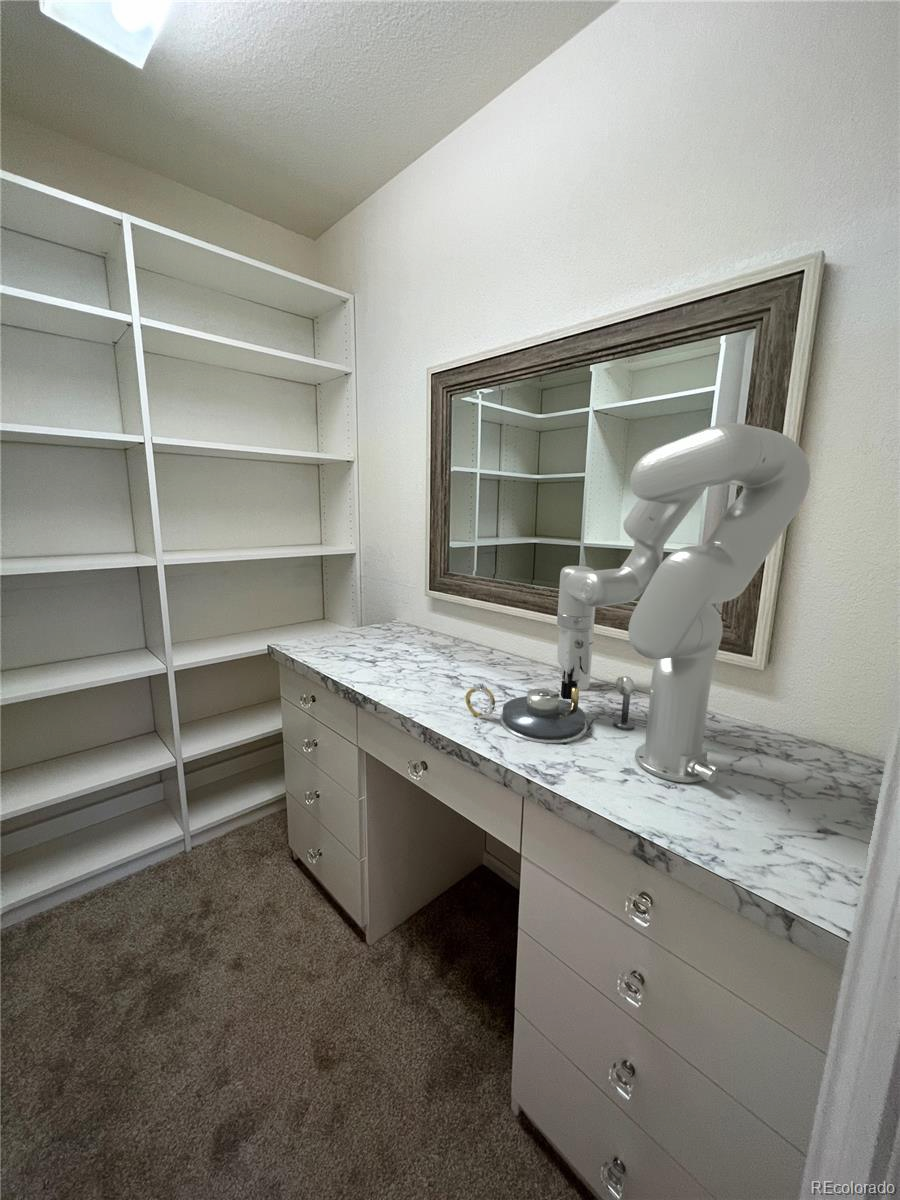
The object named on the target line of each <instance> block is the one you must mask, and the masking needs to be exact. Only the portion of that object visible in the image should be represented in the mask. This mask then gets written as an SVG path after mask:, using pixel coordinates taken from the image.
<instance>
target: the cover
mask: <svg viewBox="0 0 900 1200" xmlns="http://www.w3.org/2000/svg"><path fill="white" fill-rule="evenodd" d="M526 693H527V695H526V696H527V712H528V713H529V714H530V715H532V716H535V717H539V718H553V717H556V716H557V715H558V714H559V699H561V698H560V696H561V694H559V692H557V691H555V690H552V689H548V688H533V689H532V688H531V689H530V690H528V691H527V692H526Z"/></svg>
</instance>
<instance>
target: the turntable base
mask: <svg viewBox="0 0 900 1200" xmlns="http://www.w3.org/2000/svg"><path fill="white" fill-rule="evenodd" d="M502 715H503V712H502V713H501V715H500V716H499V717H500V718H499V723H500V725H501V727H502V728H503V730H505V731H506V732H508V733H509V734H511V735H513V736H514V737H517V738H519V739H522V740H525V741H529V742H533V743H540V744H548V745H549V744H567V743H571V742H575V741H577V740H579V739H581V738H583V737H585V735H586V733H587V732H588V731H587V730H588V725H587V723H586V721H585V728H584V730H583V731H582V732H581V733H579V734H578V735H576V736H573V737H569V738H564V739H541V738H535V737H530V736H526V735H523V734H520V733H518V732H516V731H514V730H512V729H510V728H509V727H508V726H507V725H506V724H505V723H504V721H503V718H502Z"/></svg>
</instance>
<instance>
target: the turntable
mask: <svg viewBox="0 0 900 1200" xmlns="http://www.w3.org/2000/svg"><path fill="white" fill-rule="evenodd" d="M579 697H580V690H579V687H572V694H571V699H570V702H569V701H567V700H565V699H561V698H559V714H558V715H557V716H556V717H553V718H539V717H535V716H532V715H530V714H529V713H528V712H527V695H525V696H519V697H515V698H513V699H510V700H508V701H507V702H505V703H504V704H503V706H502V713H503V715H502V718H503V721H504V723H505V724H506V725H507V726H508V727H509V728H510V729H512V730H514V731H516V732H518V733H520V734H523V735H526V736H530V737H535V738H541V739H564V738H569V737H573V736H576V735H578V734H579V733H581V732H582V731H583V730H584V728H585V722H586V714H585V712H584V711H583V709H582V708H580V707H579V700H580V699H579Z"/></svg>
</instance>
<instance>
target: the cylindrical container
mask: <svg viewBox="0 0 900 1200" xmlns="http://www.w3.org/2000/svg"><path fill="white" fill-rule="evenodd" d="M595 614H596V607H593V611H592V623H591V630H589V672H588V674H584V673H583V672H582V671H581V670H580V680H579V681H578V683H577V687H579V691H587V690H588V689H590V682H591V671H592V669H591V668H592V657H593V655H592V654H593V644H594V642H593V641H594V628H595V616H596V615H595Z"/></svg>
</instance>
